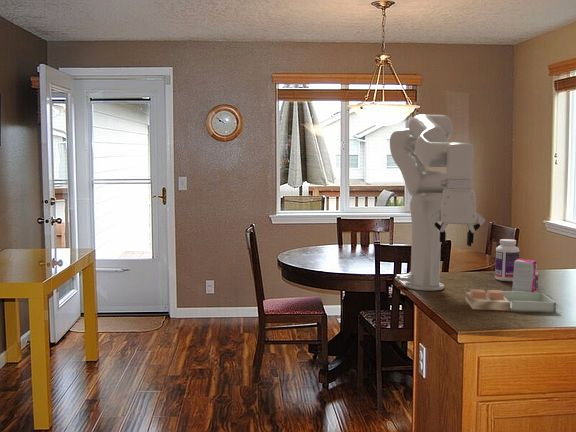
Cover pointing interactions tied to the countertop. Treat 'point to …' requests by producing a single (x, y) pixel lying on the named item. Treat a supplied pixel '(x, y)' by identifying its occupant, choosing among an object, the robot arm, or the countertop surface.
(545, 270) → the countertop surface
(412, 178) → the robot arm
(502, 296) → the tile
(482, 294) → the tile
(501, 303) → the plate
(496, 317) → the countertop surface
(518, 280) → the supplement box
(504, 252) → the pill bottle
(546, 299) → the tray
